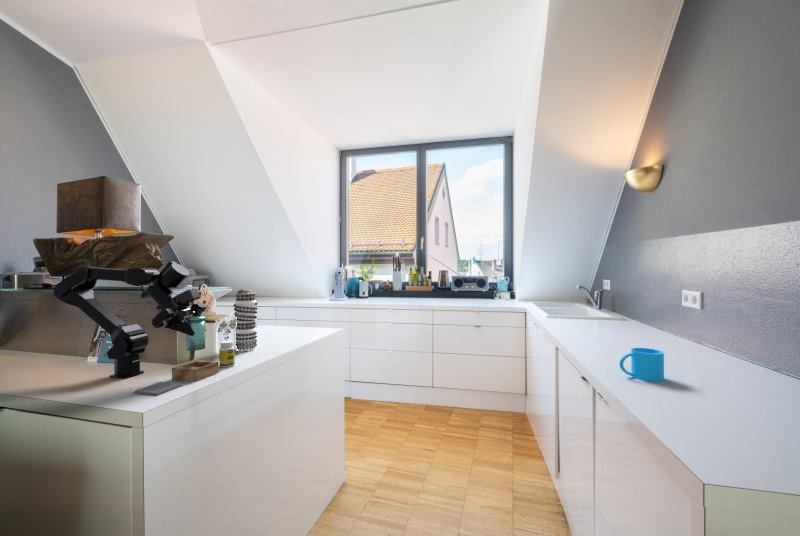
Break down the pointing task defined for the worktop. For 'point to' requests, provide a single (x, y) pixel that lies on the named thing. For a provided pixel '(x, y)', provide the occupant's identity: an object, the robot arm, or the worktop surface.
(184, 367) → the wooden tray
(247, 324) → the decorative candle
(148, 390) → the mat
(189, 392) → the worktop surface
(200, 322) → the teal glass jar
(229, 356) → the supplement bottle
